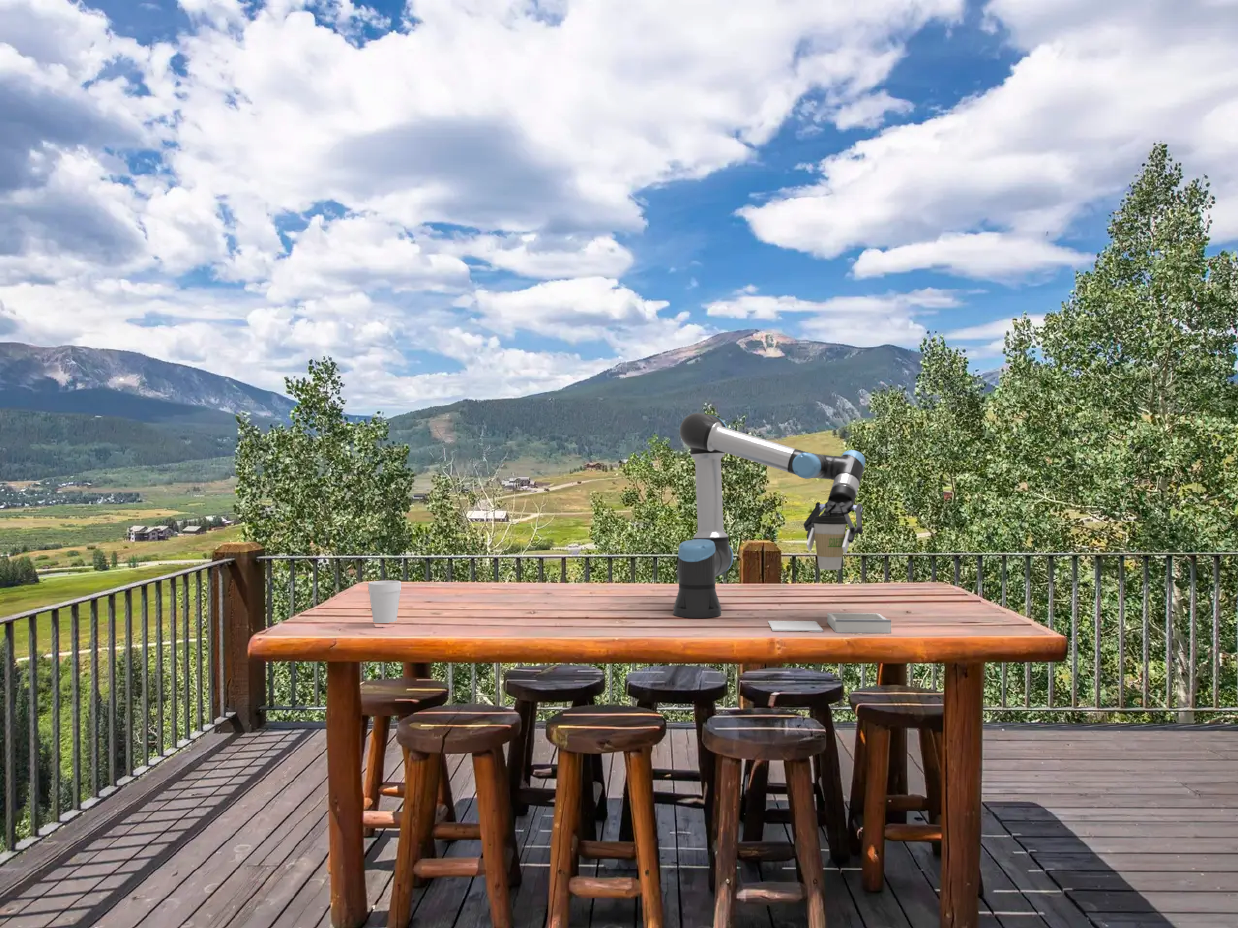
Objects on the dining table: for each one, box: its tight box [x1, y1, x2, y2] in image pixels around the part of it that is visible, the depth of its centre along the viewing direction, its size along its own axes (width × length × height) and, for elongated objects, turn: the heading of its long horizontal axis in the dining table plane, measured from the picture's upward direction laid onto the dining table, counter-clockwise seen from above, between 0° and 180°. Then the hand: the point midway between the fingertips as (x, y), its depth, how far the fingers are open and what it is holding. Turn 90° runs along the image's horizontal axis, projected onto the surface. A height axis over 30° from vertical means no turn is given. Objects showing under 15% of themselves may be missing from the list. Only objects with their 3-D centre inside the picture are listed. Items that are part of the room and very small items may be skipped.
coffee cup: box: [813, 515, 848, 571], centre depth 234 cm, size 10×10×15 cm
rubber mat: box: [767, 620, 824, 633], centre depth 235 cm, size 14×14×1 cm
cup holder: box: [826, 612, 892, 634], centre depth 233 cm, size 15×15×4 cm
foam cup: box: [367, 579, 402, 623], centre depth 242 cm, size 10×9×13 cm
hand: (826, 548), depth 231 cm, fingers closed on coffee cup, 10 cm apart
